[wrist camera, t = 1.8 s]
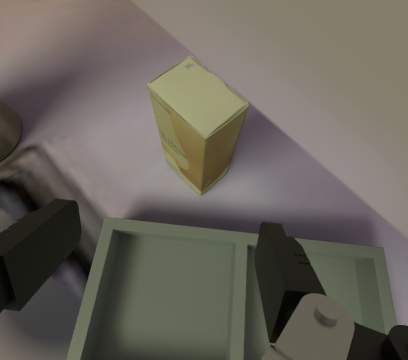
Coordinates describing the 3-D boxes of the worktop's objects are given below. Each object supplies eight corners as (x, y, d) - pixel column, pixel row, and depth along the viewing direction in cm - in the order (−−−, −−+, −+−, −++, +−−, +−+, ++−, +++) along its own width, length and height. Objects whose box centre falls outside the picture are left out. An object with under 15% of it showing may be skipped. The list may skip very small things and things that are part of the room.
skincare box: (164, 161, 28) (140, 81, 16) (191, 139, 29) (187, 50, 18) (202, 199, 26) (205, 139, 15) (229, 174, 27) (252, 101, 16)
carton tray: (79, 378, 20) (55, 398, 17) (117, 224, 25) (104, 216, 21) (381, 416, 19) (417, 444, 16) (358, 251, 24) (383, 247, 21)
